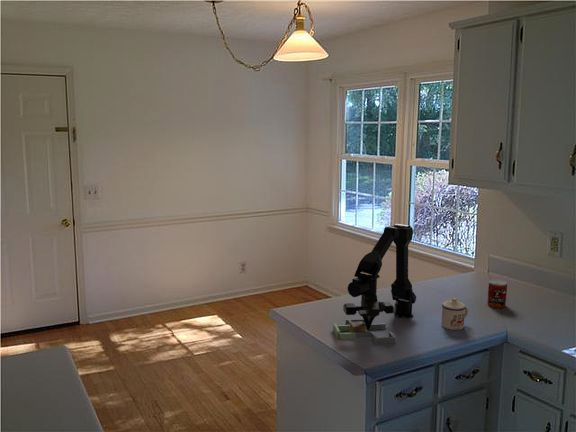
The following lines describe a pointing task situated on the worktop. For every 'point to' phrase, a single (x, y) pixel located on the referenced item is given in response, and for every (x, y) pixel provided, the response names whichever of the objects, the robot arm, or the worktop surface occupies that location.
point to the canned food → (497, 293)
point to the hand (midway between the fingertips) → (367, 329)
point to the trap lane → (346, 327)
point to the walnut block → (357, 327)
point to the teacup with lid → (453, 314)
